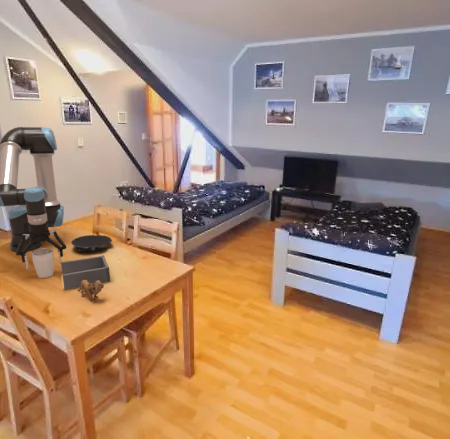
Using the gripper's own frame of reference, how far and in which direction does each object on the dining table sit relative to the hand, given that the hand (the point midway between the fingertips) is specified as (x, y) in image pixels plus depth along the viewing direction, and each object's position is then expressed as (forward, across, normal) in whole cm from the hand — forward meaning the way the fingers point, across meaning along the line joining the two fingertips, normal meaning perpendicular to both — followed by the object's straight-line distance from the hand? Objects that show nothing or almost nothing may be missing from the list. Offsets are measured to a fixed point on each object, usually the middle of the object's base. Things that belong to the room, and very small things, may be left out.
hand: (44, 265), depth 157 cm
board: (+5, +24, +25) cm, 35 cm away
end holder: (+5, +16, -11) cm, 20 cm away
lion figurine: (+6, +17, -28) cm, 33 cm away
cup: (+5, 0, 0) cm, 5 cm away
